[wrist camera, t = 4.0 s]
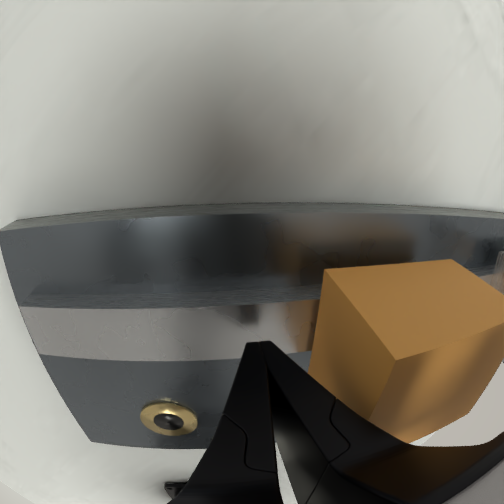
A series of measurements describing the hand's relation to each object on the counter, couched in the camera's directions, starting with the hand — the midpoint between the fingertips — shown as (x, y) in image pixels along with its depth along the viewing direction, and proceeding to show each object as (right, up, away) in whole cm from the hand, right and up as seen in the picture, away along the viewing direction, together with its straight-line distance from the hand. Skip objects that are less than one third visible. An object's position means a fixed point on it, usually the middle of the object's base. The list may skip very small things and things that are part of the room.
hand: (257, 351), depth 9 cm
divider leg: (+5, -1, +3) cm, 6 cm away
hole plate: (+4, -1, +5) cm, 7 cm away
